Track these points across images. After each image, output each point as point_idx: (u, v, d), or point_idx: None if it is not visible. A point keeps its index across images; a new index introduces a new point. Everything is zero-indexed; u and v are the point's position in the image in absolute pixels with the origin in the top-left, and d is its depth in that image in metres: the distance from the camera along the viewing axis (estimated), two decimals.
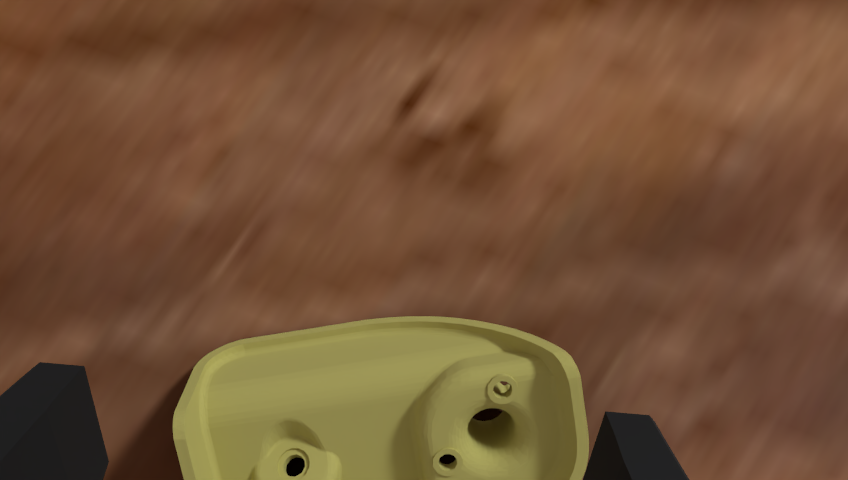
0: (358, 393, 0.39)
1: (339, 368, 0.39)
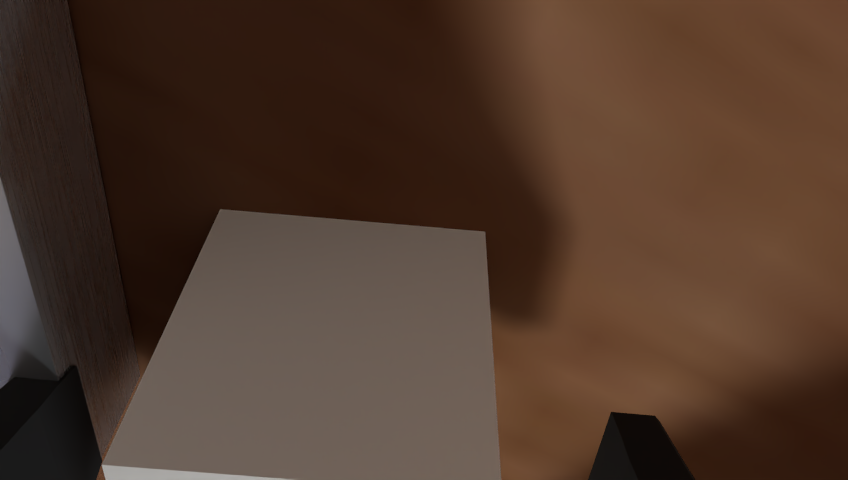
0: None
1: None
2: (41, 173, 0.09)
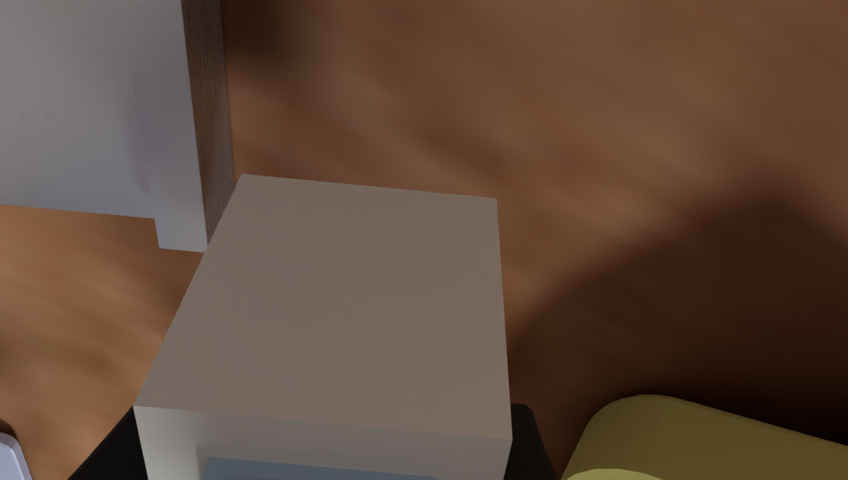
0: None
1: None
2: (196, 7, 0.13)
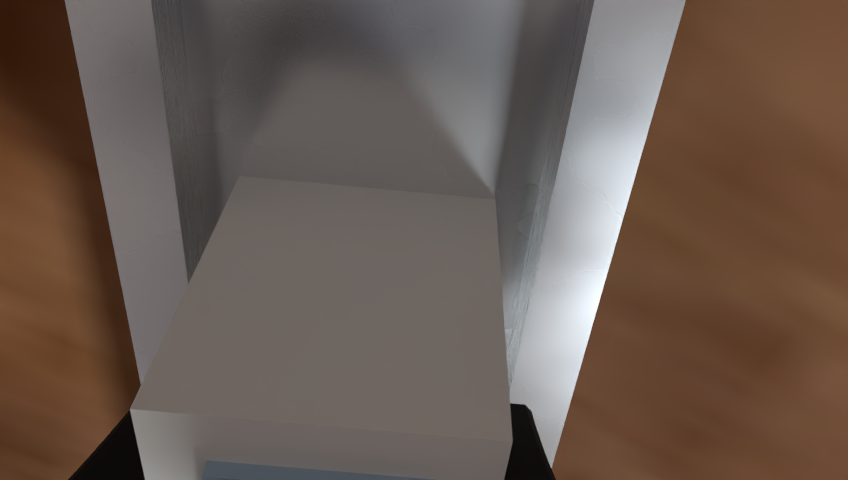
0: None
1: None
2: None
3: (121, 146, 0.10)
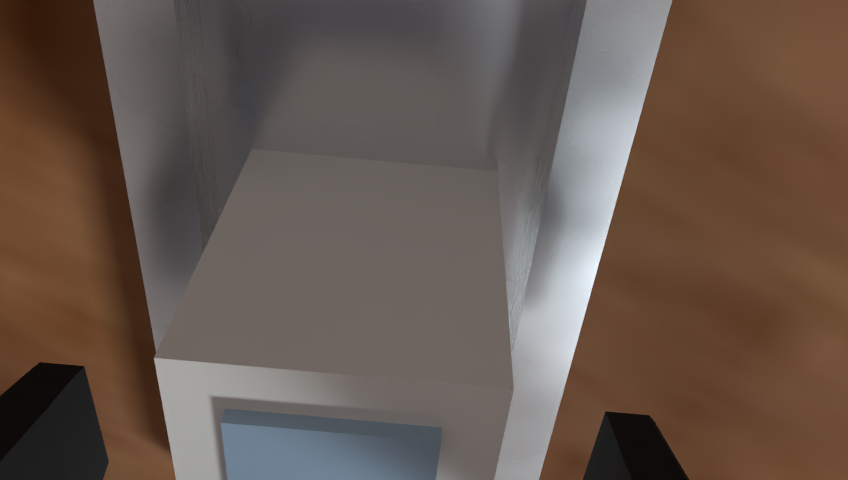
0: None
1: None
2: None
3: (140, 117, 0.10)
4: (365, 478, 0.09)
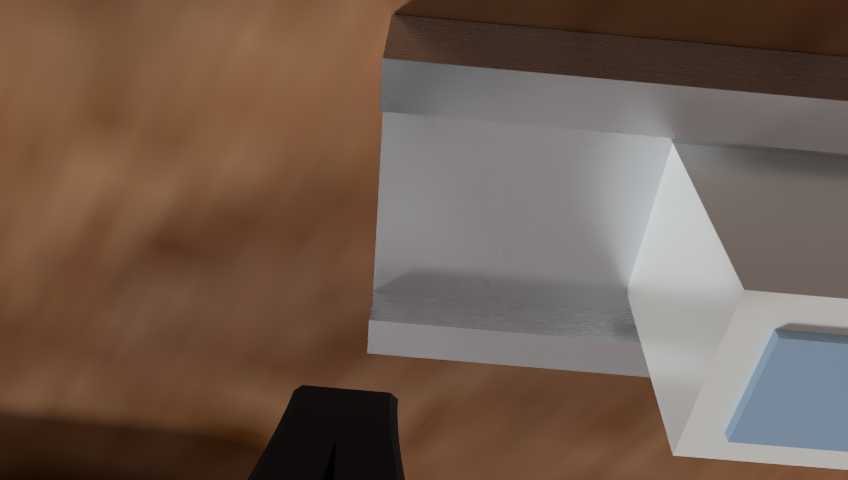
0: None
1: None
2: None
3: None
4: None
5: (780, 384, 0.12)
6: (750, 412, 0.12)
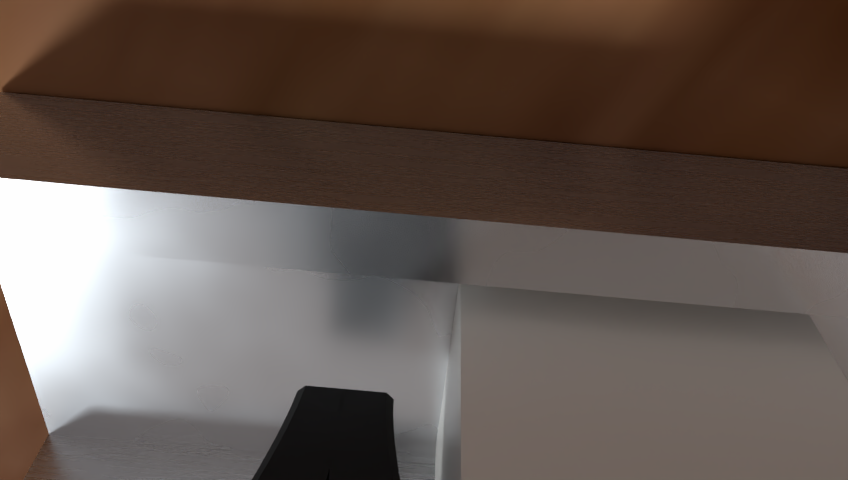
0: None
1: None
2: None
3: None
4: None
5: None
6: None
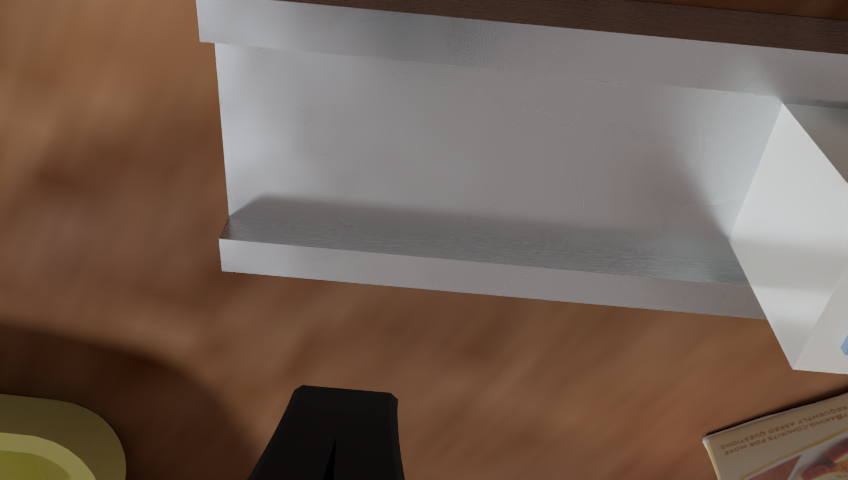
0: None
1: None
2: None
3: (769, 65, 0.15)
4: None
5: None
6: None
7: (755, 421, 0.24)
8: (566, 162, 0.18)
